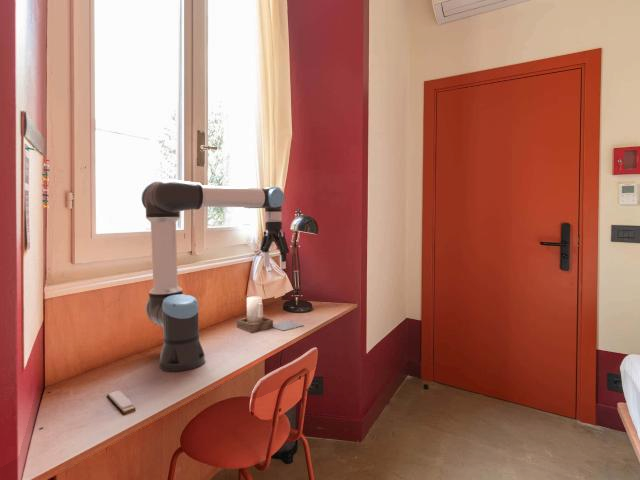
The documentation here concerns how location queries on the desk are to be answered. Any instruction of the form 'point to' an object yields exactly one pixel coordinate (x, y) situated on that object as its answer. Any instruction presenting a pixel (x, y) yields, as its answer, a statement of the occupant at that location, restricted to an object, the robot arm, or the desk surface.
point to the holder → (255, 325)
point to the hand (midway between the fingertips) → (274, 267)
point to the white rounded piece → (254, 309)
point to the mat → (286, 325)
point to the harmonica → (121, 402)
